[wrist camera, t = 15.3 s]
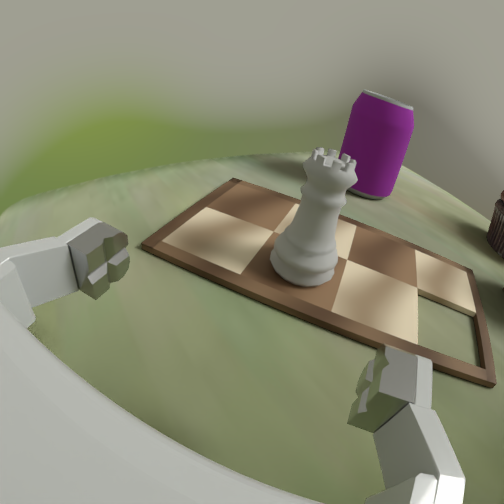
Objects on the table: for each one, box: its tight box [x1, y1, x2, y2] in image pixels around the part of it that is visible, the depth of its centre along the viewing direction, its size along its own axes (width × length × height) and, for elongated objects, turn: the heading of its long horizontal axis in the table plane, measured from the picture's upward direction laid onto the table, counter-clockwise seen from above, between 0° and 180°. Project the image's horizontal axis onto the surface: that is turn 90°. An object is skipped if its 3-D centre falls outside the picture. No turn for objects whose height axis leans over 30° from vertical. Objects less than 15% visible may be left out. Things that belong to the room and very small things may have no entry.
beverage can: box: [338, 90, 414, 199], centre depth 34 cm, size 8×8×12 cm
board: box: [142, 178, 497, 388], centre depth 23 cm, size 26×14×1 cm, turn 66°
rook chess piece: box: [270, 147, 358, 287], centre depth 19 cm, size 4×4×8 cm
